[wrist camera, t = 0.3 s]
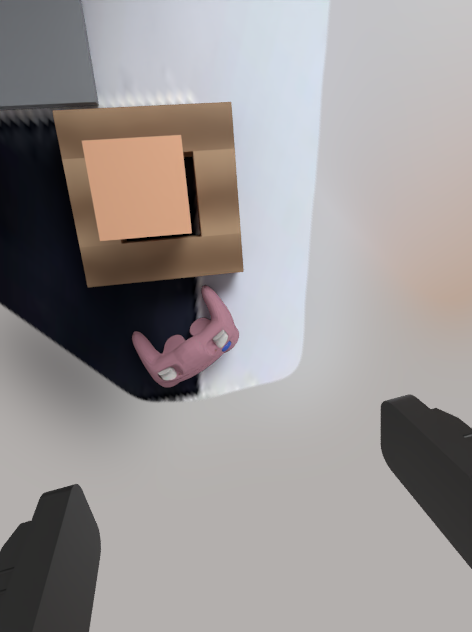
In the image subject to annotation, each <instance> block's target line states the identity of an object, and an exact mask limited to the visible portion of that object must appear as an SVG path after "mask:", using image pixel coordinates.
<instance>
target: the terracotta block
mask: <svg viewBox="0 0 472 632" xmlns="http://www.w3.org/2000/svg"><path fill="white" fill-rule="evenodd" d="M82 146H83V151H84V157H85V162H86V168H87V173H88V178H89V184H90V189H91V195H92V200H93V206H94V211H95V217H96V222H97V227H98V233H99V238H100V241H108V240H120V239H131V238H142V237H154V236H165V235H177V234H188V233H192V229H191V220H190V211H189V202H188V193H187V184H186V175H185V166H184V157H183V148H182V139H181V135H171V136H153V137H136V138H118V139H101V140H84V141H82Z"/></svg>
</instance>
